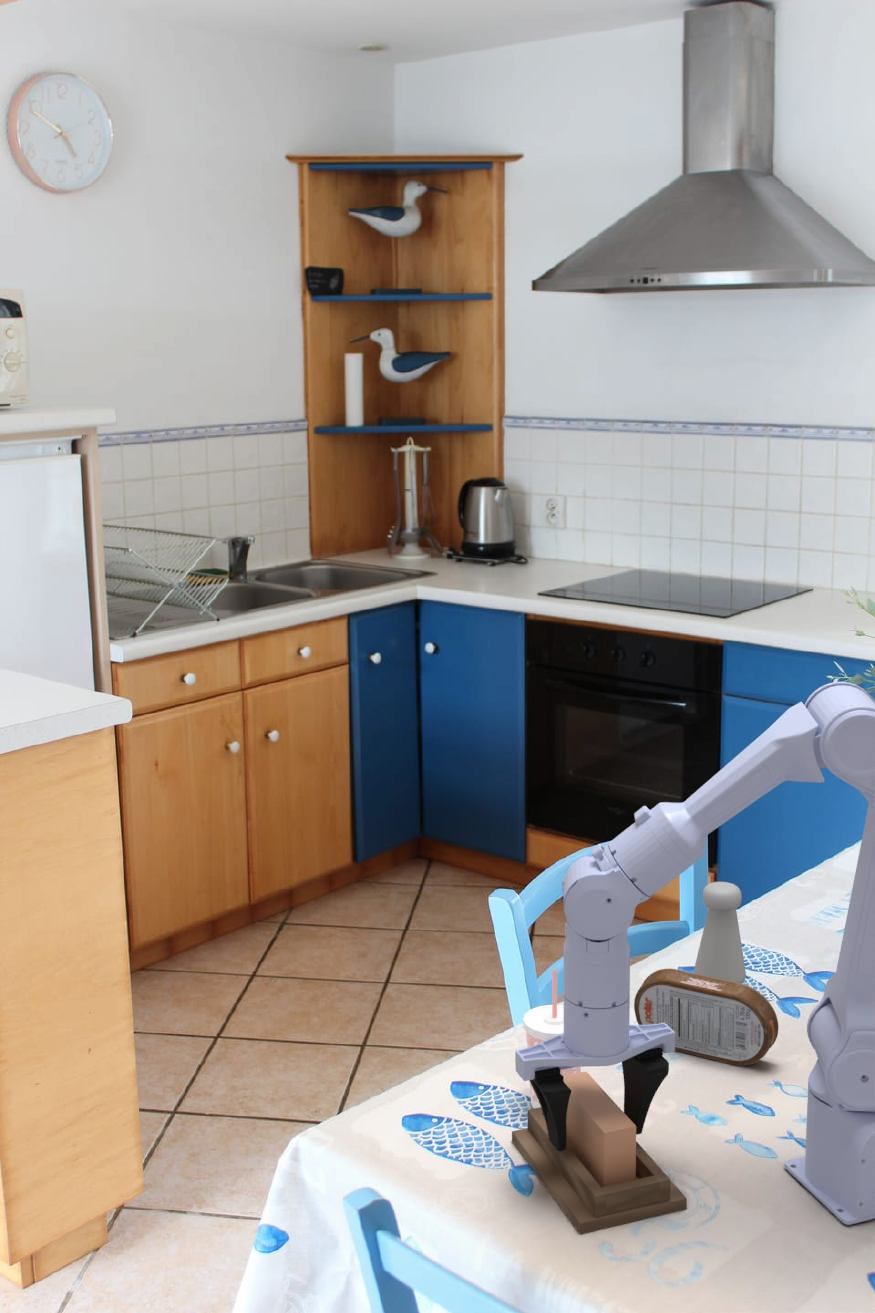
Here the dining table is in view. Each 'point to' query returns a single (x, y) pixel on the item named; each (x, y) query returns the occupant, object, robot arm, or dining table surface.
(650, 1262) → the dining table surface
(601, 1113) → the tan rectangular block
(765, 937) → the dining table surface
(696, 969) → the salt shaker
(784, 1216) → the dining table surface
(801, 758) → the robot arm
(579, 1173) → the tray
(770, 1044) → the tin
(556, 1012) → the beverage cup
